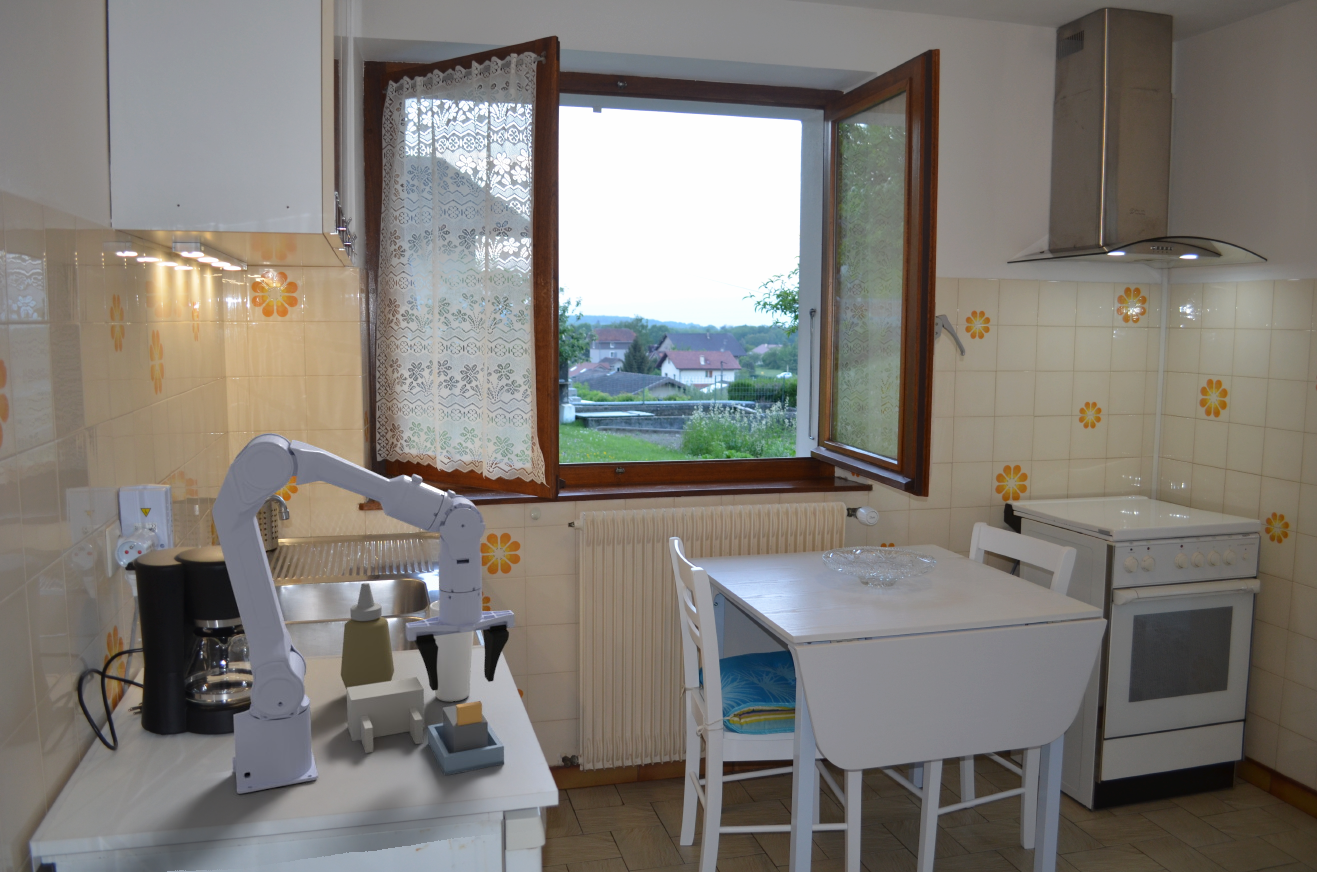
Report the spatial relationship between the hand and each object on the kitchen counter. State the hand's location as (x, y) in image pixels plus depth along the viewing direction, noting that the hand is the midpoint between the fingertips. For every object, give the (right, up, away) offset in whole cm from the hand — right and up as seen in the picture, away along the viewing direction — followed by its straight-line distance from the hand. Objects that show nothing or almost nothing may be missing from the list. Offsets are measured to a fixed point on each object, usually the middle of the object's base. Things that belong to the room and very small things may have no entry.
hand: (461, 683), depth 128 cm
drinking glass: (-5, -7, +19) cm, 21 cm away
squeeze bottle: (-19, -7, +19) cm, 28 cm away
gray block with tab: (+1, -9, 0) cm, 9 cm away
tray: (+1, -10, 0) cm, 10 cm away
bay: (-12, -9, +5) cm, 15 cm away
